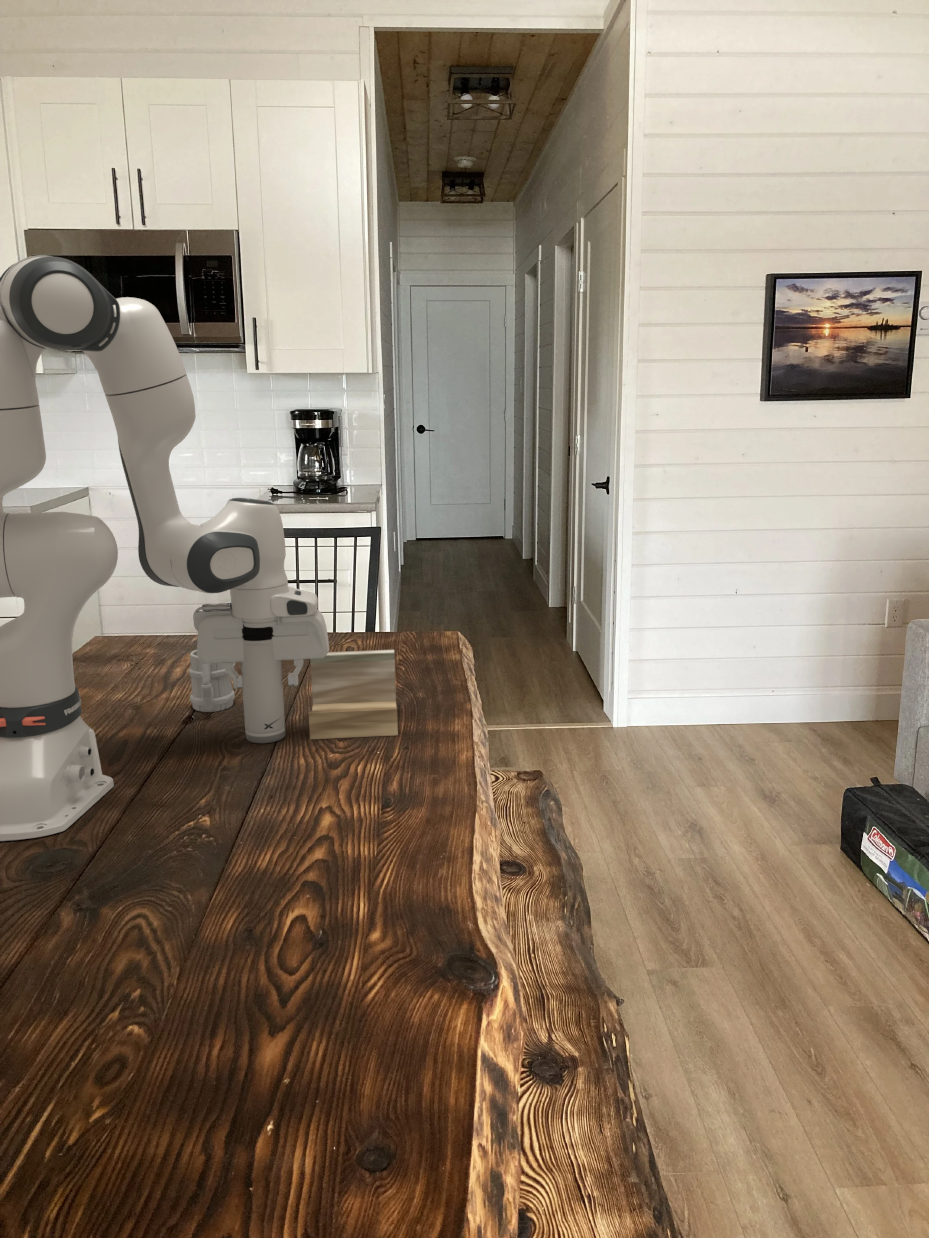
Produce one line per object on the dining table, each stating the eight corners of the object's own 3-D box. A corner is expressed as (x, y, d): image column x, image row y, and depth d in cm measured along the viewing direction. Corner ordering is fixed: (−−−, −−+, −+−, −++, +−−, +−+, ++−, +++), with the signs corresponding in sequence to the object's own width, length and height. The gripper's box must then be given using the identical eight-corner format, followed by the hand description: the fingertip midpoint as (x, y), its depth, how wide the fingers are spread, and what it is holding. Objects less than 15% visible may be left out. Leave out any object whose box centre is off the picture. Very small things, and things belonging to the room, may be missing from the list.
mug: (236, 697, 172) (232, 633, 169) (231, 719, 160) (226, 651, 157) (193, 699, 170) (187, 635, 168) (185, 722, 159) (179, 653, 156)
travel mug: (278, 745, 148) (271, 620, 144) (239, 742, 150) (230, 619, 145) (293, 731, 154) (286, 612, 150) (255, 729, 156) (247, 611, 151)
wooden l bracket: (397, 735, 152) (395, 669, 149) (310, 739, 151) (306, 673, 148) (396, 710, 163) (394, 649, 161) (314, 714, 162) (310, 652, 159)
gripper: (188, 609, 143) (196, 696, 146) (324, 603, 144) (329, 689, 148) (195, 599, 149) (203, 683, 152) (326, 594, 150) (331, 676, 154)
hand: (267, 686), depth 150 cm, fingers open, 7 cm apart
